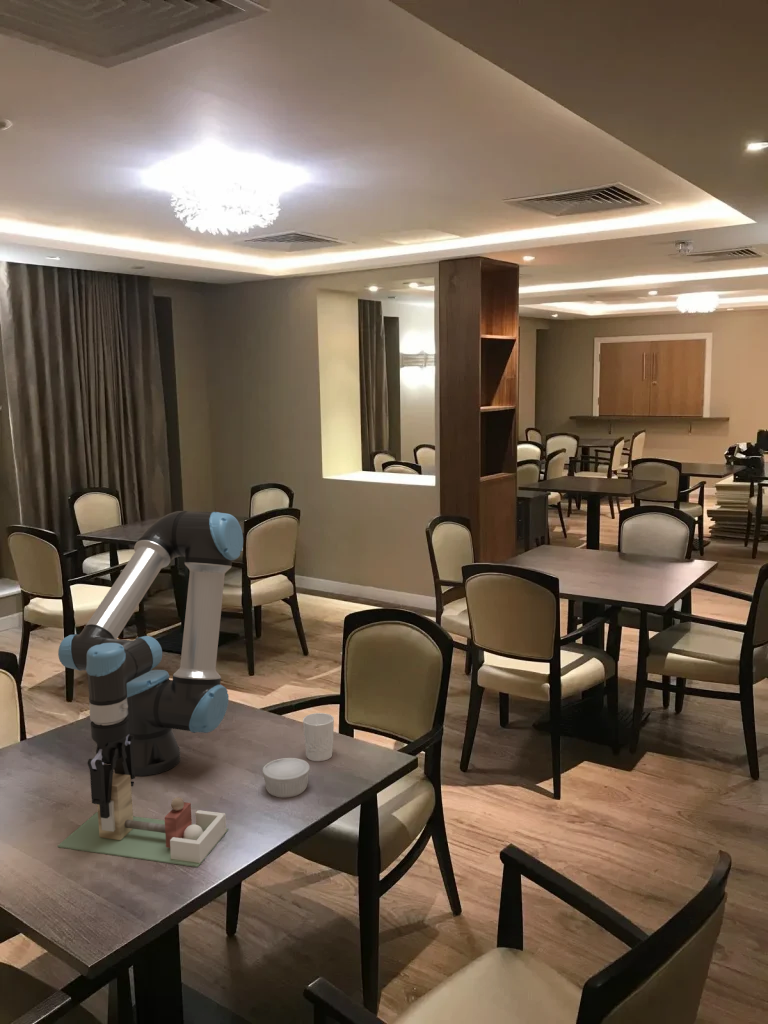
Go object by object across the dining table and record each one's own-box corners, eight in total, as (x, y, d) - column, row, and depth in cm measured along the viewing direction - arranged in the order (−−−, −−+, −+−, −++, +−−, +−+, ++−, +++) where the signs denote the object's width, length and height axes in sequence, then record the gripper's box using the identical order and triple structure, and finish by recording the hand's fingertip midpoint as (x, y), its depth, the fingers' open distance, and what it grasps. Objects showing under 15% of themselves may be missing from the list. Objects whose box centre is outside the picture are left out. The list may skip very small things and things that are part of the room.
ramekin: (285, 773, 196) (284, 753, 195) (320, 785, 190) (319, 764, 189) (253, 791, 187) (252, 770, 186) (288, 805, 181) (287, 783, 180)
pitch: (57, 847, 165) (57, 845, 165) (97, 812, 178) (97, 811, 178) (197, 867, 157) (197, 865, 157) (228, 829, 171) (228, 828, 171)
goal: (170, 858, 160) (169, 840, 159) (198, 827, 171) (197, 810, 171) (200, 863, 158) (199, 844, 158) (226, 831, 170) (225, 813, 169)
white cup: (333, 762, 201) (332, 725, 200) (302, 762, 201) (301, 725, 200) (335, 748, 209) (334, 712, 208) (305, 749, 209) (304, 712, 208)
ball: (177, 832, 163) (193, 829, 162) (186, 822, 167) (202, 818, 166) (183, 850, 163) (200, 847, 162) (193, 840, 167) (209, 836, 166)
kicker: (97, 839, 167) (93, 785, 165) (114, 823, 173) (111, 771, 171) (177, 850, 162) (174, 795, 161) (192, 833, 168) (189, 780, 167)
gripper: (100, 738, 156) (107, 848, 159) (148, 703, 173) (154, 803, 177) (66, 734, 158) (74, 843, 161) (118, 700, 175) (124, 799, 178)
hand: (116, 822), depth 169 cm, fingers closed on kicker, 5 cm apart
